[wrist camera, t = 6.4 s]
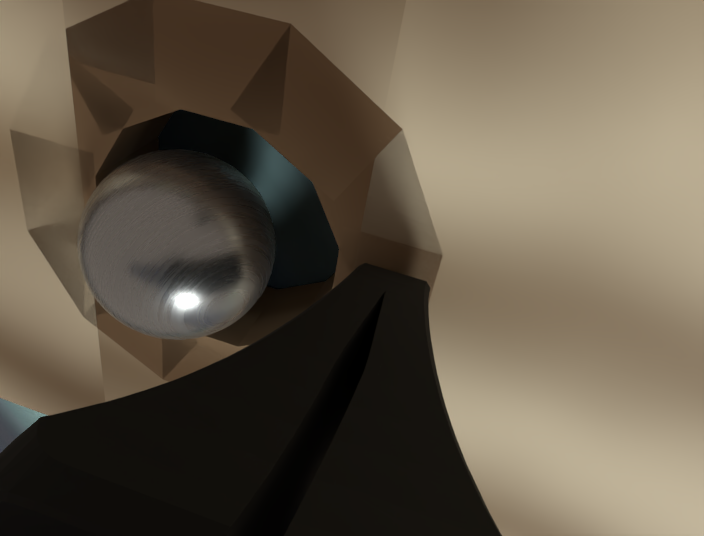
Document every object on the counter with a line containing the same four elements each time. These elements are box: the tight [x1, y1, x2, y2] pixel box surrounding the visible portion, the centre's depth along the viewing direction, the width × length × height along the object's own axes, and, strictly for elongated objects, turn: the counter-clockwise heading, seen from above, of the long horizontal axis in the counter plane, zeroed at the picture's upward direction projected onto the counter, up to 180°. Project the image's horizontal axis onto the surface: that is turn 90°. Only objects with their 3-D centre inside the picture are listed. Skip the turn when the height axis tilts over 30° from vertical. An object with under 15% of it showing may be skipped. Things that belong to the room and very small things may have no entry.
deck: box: [0, 0, 704, 536], centre depth 13 cm, size 16×26×2 cm, turn 80°
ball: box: [77, 149, 276, 340], centre depth 13 cm, size 4×4×4 cm
